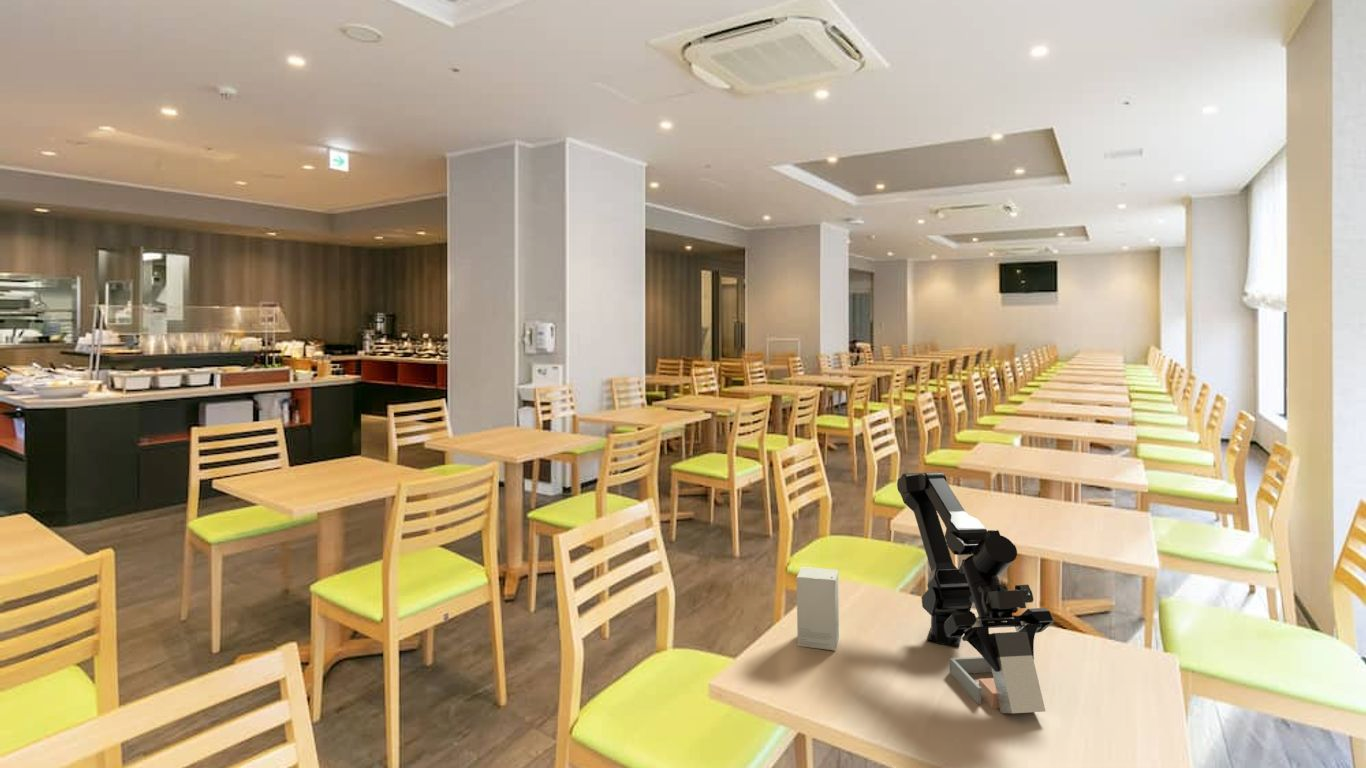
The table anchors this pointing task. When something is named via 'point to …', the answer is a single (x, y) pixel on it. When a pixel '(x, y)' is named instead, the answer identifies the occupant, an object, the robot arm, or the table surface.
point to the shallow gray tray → (961, 670)
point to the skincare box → (817, 608)
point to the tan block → (989, 692)
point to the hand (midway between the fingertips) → (1014, 670)
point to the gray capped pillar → (1016, 674)
